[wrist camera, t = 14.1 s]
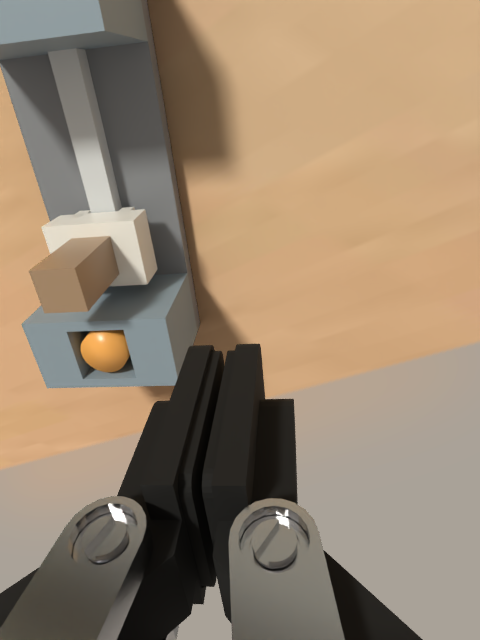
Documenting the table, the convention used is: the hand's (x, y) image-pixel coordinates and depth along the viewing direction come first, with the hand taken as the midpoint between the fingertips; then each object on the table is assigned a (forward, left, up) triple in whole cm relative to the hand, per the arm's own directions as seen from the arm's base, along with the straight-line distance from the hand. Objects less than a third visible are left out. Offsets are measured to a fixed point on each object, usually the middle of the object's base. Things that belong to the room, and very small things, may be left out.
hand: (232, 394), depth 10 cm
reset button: (+13, +10, -21) cm, 27 cm away
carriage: (+13, +4, -25) cm, 28 cm away
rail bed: (+13, -1, -27) cm, 30 cm away
